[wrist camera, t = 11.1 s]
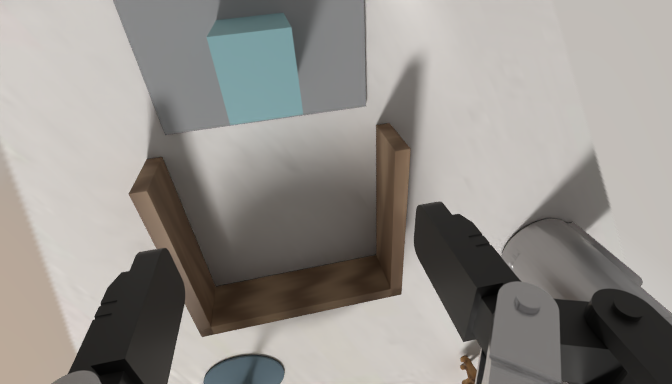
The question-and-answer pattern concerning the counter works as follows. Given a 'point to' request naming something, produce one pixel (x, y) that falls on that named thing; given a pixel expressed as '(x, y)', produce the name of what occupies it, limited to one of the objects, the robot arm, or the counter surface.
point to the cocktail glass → (246, 371)
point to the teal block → (256, 67)
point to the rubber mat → (198, 68)
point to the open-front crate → (292, 287)
